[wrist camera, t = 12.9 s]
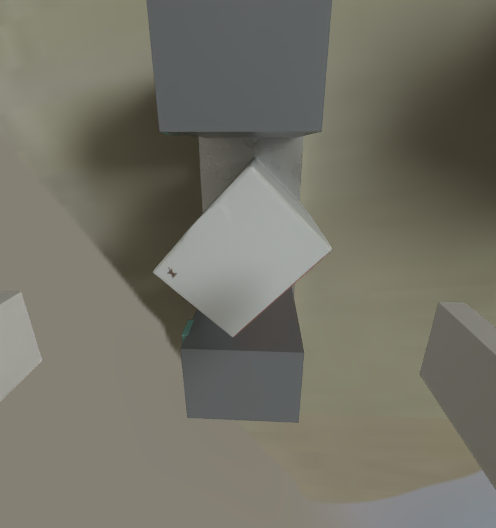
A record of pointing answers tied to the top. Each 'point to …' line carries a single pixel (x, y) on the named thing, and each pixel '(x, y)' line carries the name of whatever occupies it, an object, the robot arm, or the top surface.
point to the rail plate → (238, 156)
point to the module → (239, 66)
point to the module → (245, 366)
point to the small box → (244, 250)
